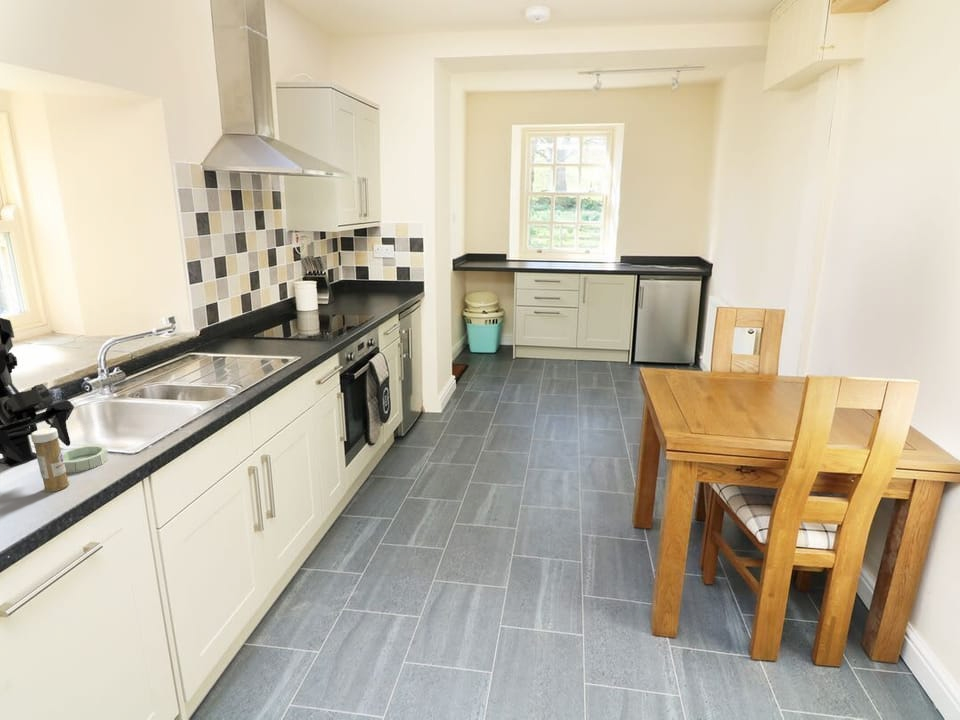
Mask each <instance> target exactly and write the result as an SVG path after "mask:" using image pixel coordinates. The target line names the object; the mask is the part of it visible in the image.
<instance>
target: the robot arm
mask: <svg viewBox="0 0 960 720" xmlns="http://www.w3.org/2000/svg"><path fill="white" fill-rule="evenodd" d="M14 332H15V331H14V328H13V325H12V321H11V320H10V319H6V318H2V317H0V455H2V458H0V464H1V465H2V464H3V465H5V466H8V467H13V466H16V465H19V464H23V463H25V462H27V461H28V462H29V461H30V460H33V459H37V456H36V455H37V454H36V452H33V449H32V445H31V440H30V436H31V434H32V433H33V432H34V431H37V430H38V426H37V424H39V423H42V422H45V423H46V424H47V425H49V428H56V429H57V432H58V440H60V442H62V444H64V445H65V446H67V447H69V446H70V445H71V440H70V439H71V438H70V435H69V432H68V431H69V430H68V427H67V420H68V419H69V418H70V415H71V414H72V412H73V410H74V409H75V406H74V405H73V403H72V401H70V400H68V399H62V400H59V401H55V402H52V403H49V404H48V405H47V407H46V409H45V411H42V412H39V413H36V412H37V411H39V409H40V406H39V405H40V404H43V403H45V400H46V399H47V398H50V396H51V393H50V391H49V389H48V388H47V387H46V385H45V384H44V383H41V384H36V385H34V386H33V387H31V388H30V389H29V390H25V391H19V389H17V388H16V387H15V384H13V379H12V375H11V374H12V373H13V370H15V368H16V367H17V366H18V358H17V356H15V355H14V353H13V352H10V351H11V349H13V347H14V344H13V340H12V339H15V333H14Z"/></svg>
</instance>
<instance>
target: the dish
mask: <svg viewBox="0 0 960 720" xmlns="http://www.w3.org/2000/svg"><path fill="white" fill-rule="evenodd" d="M61 453H62V457H63V461H64V465H65V469H66V473H78V472H84V471H88V469H89V470H91V468H92V469H94V468H97V467H100V466H102V465H104V464H105V463H106V462H108V461H109V453H108V447H107V446H105V445H102V444H90V445H88V444H87V445H84V446H77V447H74V448H71V449H69V450H66V451H64V452H61ZM105 461H106V462H105ZM104 462H105V463H104ZM101 464H102V465H101ZM99 465H100V466H99ZM96 466H97V467H96ZM93 467H94V468H93Z"/></svg>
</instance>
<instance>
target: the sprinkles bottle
mask: <svg viewBox="0 0 960 720" xmlns="http://www.w3.org/2000/svg"><path fill="white" fill-rule="evenodd" d="M30 436H31V437H30V439H31V441H32V443H33V445H34V448H35V453H36V454H37V455H36V456H37V458H36V460H37V463H38V467H39V472H40V475H41V479H42V480H43V486H44V488H43V490H44V492H45V491H46V492H49V493H53V492H57V491H62V490H63V489H65V488H67V487H68V486H69V485H70V483H69V481H68V477H67V472H66V469H65V465H64V461H63V457H62V453H63V452H62V451H61V447H60V442H59V438H58V432H57V429H56V428H50V427H46V428H45V427H44V428H40V429H37V431H34V432H33V433H32V434H31V435H30Z"/></svg>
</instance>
